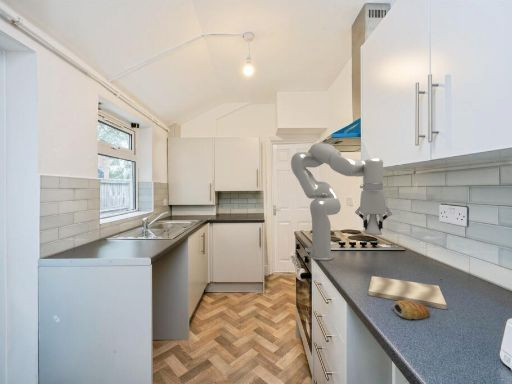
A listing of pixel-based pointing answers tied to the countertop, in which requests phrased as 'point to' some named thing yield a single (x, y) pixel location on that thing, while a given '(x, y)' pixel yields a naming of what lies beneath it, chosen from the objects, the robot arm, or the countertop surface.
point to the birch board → (407, 292)
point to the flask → (373, 226)
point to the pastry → (410, 310)
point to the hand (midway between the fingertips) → (372, 229)
